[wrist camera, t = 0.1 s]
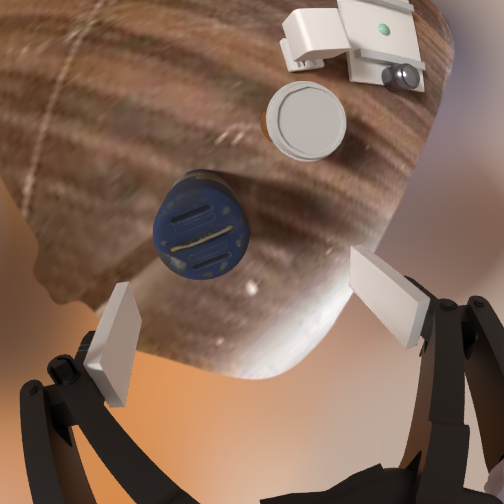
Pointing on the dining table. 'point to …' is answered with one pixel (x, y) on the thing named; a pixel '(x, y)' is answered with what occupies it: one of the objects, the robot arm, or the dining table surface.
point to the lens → (400, 77)
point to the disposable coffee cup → (304, 121)
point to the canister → (201, 227)
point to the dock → (379, 38)
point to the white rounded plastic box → (313, 38)
